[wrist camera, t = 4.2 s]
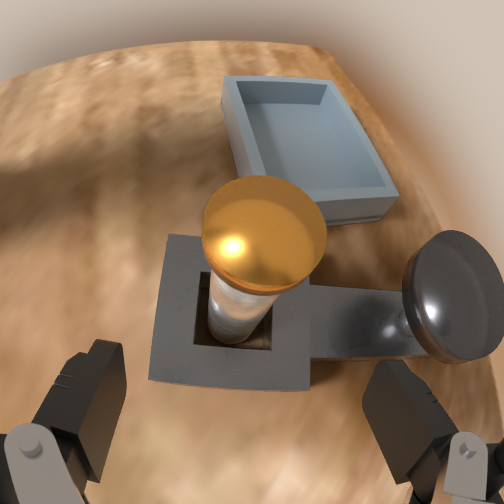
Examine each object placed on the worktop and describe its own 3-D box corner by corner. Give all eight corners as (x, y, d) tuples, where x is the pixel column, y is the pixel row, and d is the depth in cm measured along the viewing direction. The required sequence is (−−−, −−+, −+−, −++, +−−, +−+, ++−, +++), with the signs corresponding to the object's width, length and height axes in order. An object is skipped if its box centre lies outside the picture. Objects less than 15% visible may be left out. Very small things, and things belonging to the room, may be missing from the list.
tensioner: (155, 381, 19) (122, 371, 11) (172, 253, 23) (160, 175, 15) (434, 381, 21) (515, 362, 13) (423, 278, 25) (490, 230, 17)
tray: (220, 105, 31) (223, 76, 27) (321, 106, 34) (332, 80, 30) (252, 235, 25) (261, 206, 21) (378, 220, 27) (399, 196, 24)
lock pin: (189, 317, 21) (176, 214, 10) (233, 283, 23) (268, 158, 11) (228, 362, 20) (264, 313, 9) (271, 325, 22) (350, 235, 10)
